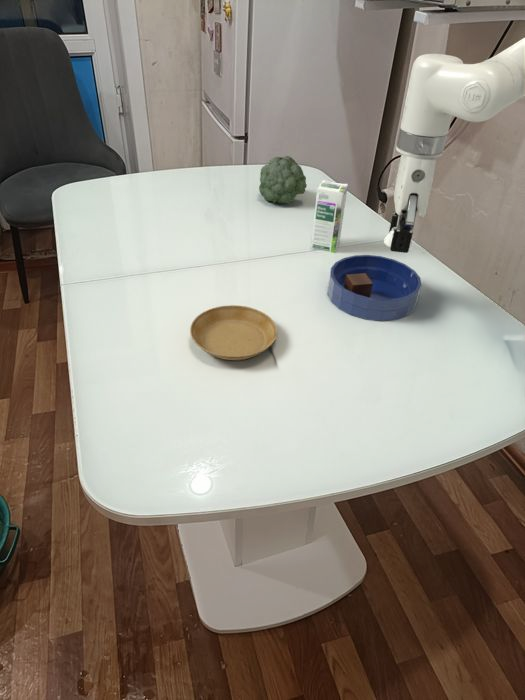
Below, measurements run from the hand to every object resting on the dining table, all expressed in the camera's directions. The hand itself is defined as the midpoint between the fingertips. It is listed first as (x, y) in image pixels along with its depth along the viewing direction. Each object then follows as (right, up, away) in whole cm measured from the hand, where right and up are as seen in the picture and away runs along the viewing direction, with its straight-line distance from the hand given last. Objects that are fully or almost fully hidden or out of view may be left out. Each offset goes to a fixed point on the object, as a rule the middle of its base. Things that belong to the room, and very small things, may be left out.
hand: (398, 243), depth 94 cm
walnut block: (-7, -9, +6) cm, 13 cm away
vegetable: (-20, +21, +45) cm, 53 cm away
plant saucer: (-30, -18, -6) cm, 36 cm away
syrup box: (-11, +4, +23) cm, 26 cm away
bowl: (-4, -9, +7) cm, 12 cm away
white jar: (0, 0, 0) cm, 1 cm away
